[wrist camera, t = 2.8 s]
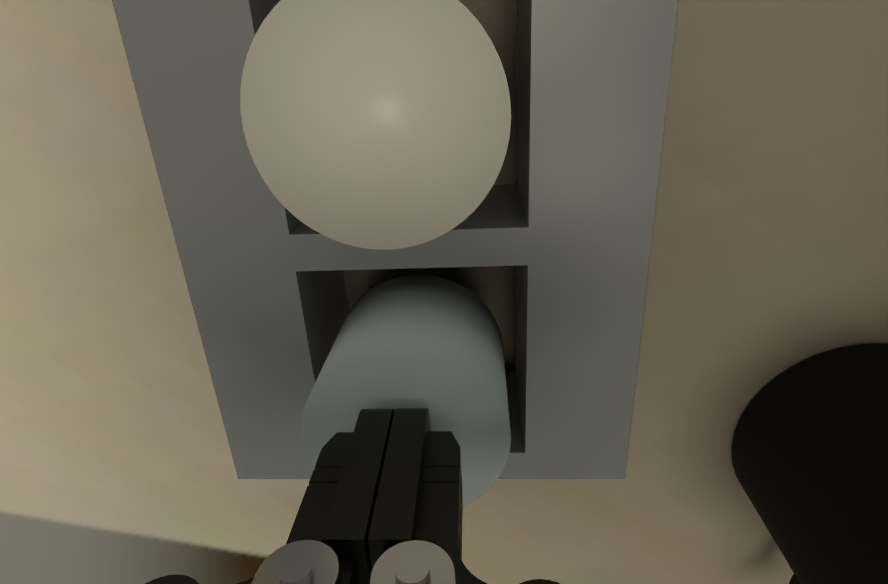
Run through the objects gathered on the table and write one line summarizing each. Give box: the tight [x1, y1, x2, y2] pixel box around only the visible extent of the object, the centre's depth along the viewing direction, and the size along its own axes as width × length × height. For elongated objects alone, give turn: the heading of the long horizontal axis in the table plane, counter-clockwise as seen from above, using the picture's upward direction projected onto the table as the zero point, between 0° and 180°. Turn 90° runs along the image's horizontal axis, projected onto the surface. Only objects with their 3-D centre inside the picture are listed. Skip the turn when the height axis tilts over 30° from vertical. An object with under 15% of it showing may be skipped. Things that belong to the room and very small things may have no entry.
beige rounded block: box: [240, 0, 511, 250], centre depth 12 cm, size 5×5×4 cm
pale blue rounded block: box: [302, 275, 511, 506], centre depth 14 cm, size 5×5×4 cm
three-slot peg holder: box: [112, 0, 679, 479], centre depth 14 cm, size 12×22×4 cm, turn 3°
